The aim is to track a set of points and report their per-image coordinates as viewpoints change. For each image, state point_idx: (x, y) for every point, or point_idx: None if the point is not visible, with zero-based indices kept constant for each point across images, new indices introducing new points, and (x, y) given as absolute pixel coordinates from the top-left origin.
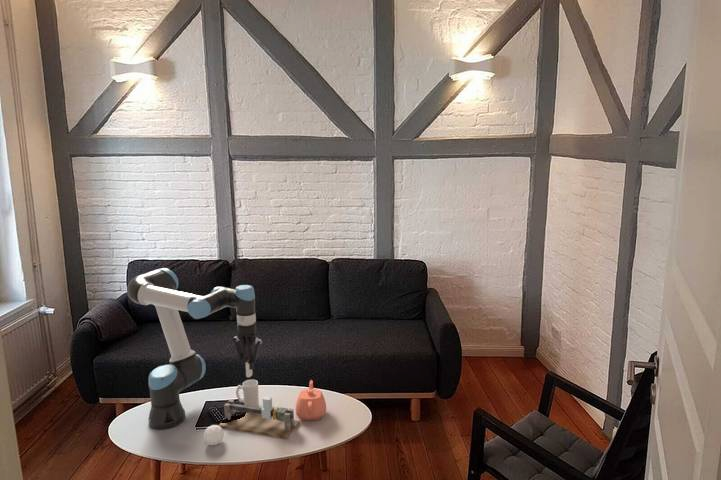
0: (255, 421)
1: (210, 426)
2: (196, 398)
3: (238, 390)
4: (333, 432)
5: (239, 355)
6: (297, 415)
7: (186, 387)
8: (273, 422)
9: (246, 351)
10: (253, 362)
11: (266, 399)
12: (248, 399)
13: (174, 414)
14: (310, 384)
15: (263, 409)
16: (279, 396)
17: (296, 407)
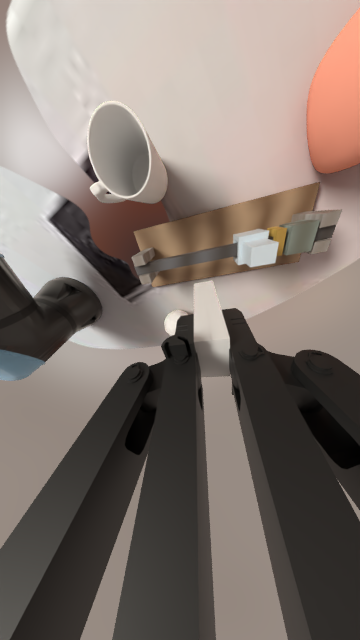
0: (205, 246)
1: (172, 333)
2: (25, 222)
3: (104, 197)
4: None
5: (138, 441)
6: (319, 171)
7: (28, 292)
8: (247, 228)
9: (205, 526)
10: (255, 341)
11: (264, 264)
12: (150, 200)
13: (88, 316)
14: None
15: (244, 262)
16: (179, 8)
17: (332, 153)
